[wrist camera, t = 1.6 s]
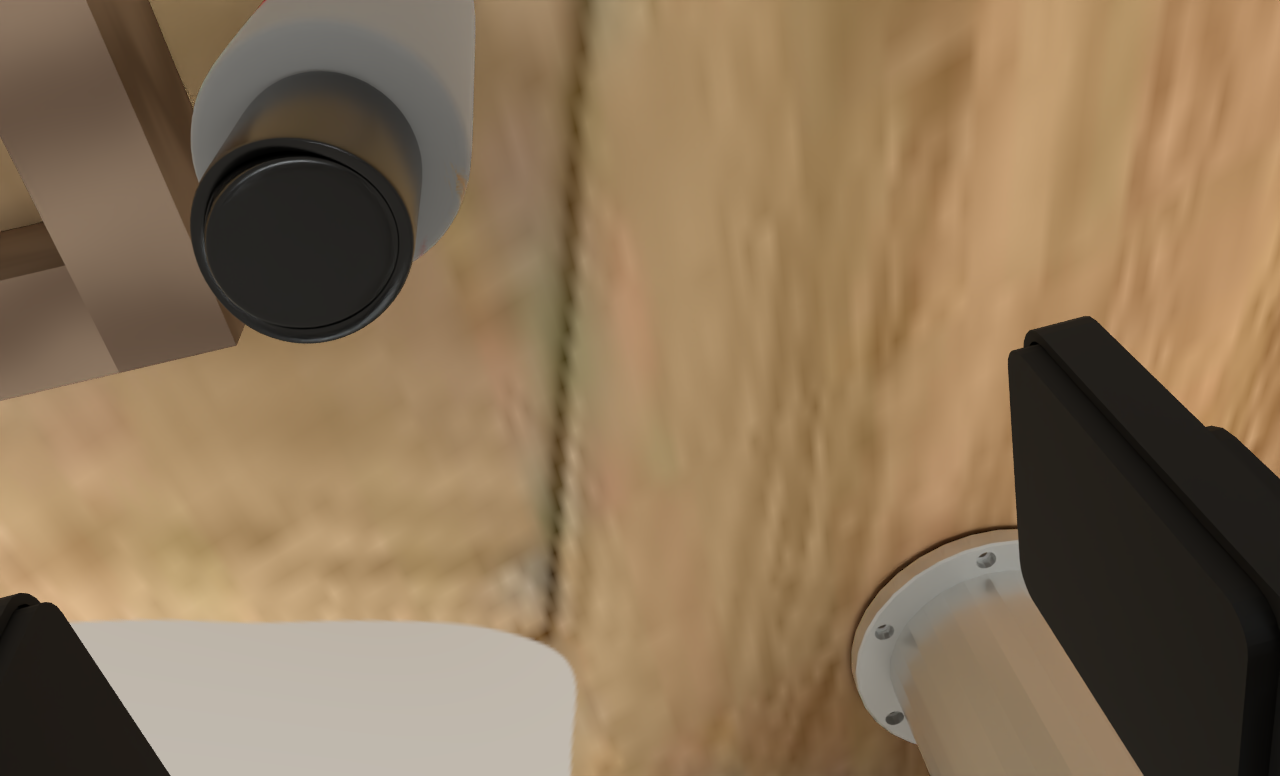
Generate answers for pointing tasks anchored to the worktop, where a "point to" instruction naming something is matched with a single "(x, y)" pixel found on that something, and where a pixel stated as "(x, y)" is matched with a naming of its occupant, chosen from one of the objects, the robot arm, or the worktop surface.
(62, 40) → the holder
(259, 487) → the worktop surface
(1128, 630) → the robot arm
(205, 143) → the lotion bottle
